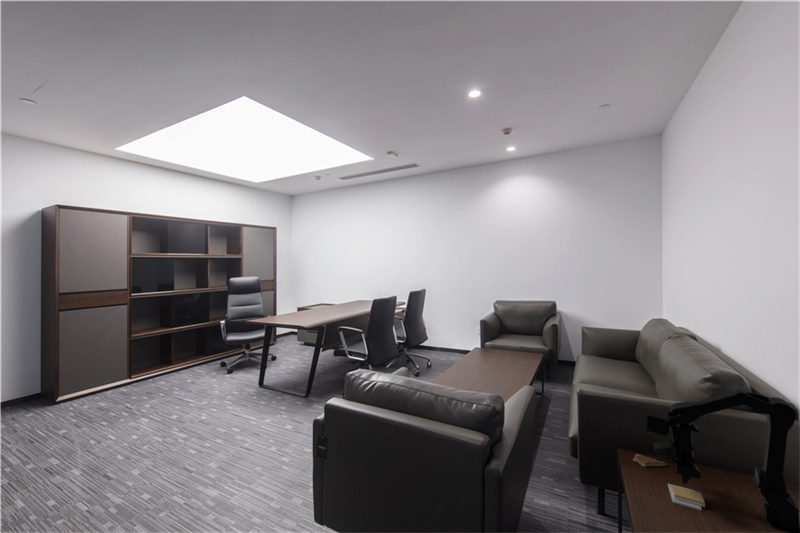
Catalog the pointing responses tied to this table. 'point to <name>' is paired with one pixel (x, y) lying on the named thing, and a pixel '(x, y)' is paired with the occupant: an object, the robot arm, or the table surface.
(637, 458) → the shard
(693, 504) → the mat
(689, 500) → the card
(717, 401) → the robot arm
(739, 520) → the table surface
